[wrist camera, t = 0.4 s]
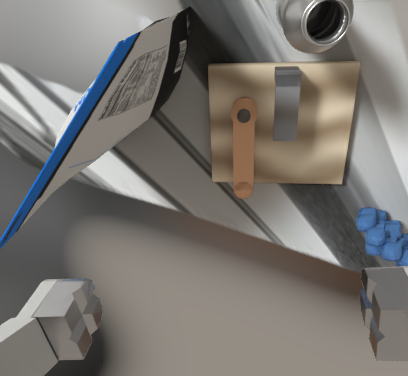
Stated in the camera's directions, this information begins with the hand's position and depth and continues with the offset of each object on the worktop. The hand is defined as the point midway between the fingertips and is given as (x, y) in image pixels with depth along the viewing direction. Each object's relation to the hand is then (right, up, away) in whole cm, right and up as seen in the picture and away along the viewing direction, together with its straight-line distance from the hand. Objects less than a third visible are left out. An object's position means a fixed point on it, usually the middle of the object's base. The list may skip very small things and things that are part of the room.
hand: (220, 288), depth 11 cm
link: (+6, +9, +45) cm, 46 cm away
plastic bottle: (+12, +26, +36) cm, 46 cm away
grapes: (+27, -2, +50) cm, 57 cm away
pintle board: (+10, +12, +44) cm, 47 cm away
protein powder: (-10, +19, +44) cm, 48 cm away
